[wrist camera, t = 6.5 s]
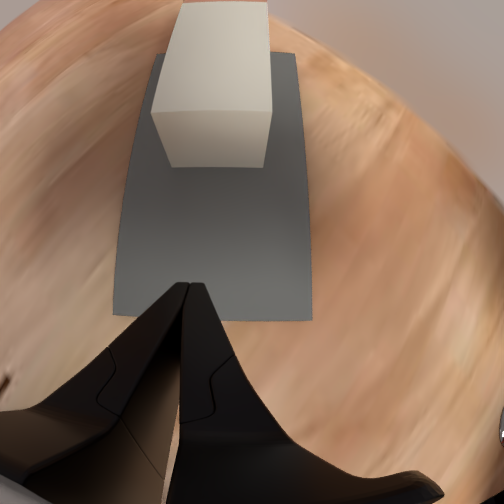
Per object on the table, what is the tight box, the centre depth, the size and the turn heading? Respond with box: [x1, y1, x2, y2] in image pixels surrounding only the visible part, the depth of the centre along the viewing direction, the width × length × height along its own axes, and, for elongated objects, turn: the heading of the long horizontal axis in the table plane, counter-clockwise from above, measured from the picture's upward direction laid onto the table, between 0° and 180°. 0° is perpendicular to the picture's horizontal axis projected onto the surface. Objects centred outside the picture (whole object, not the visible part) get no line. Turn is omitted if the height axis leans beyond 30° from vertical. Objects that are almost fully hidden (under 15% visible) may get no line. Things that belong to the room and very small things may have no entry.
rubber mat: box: [113, 52, 312, 321], centre depth 17 cm, size 18×10×1 cm, turn 0°
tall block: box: [151, 0, 272, 168], centre depth 15 cm, size 5×5×10 cm
